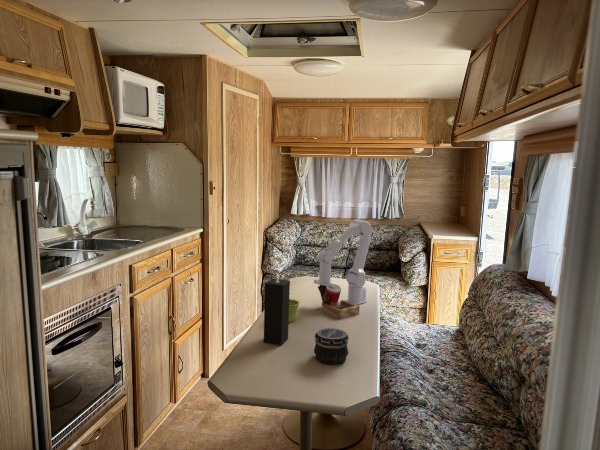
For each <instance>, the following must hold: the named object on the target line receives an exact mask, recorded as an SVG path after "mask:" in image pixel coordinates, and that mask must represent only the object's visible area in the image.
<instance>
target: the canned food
mask: <svg viewBox="0 0 600 450" xmlns="http://www.w3.org/2000/svg"><path fill="white" fill-rule="evenodd" d="M333 284H334V285H336V288H335V289H332V287H329V286H328V285H329V284H327V286H326V289H325V293H324V297H323V300H321V301H322V302H321V307H322V308H324V305H325V304H327V305H330V306H333V307H335V308H338V307H337V306H338V303H339V300H340V296H341V292H342V287H341V286H340V285H337V284H336V283H333Z"/></svg>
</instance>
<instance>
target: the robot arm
mask: <svg viewBox="0 0 600 450" xmlns="http://www.w3.org/2000/svg"><path fill="white" fill-rule="evenodd" d="M353 235H358V237H359V242H358V246H357V250H356V255H355V259H354V262H353V266H352V267H351V268H350V269H349V271H348V273H347V274H346V276H345V279H346V282H347V284H348V289H347V291H348V292H347V299H344V301H347V302H349V303H352V304H355V305H361V304H365V303H367V302H368V301H367V289H366V286H365V284H366V272H365V271H364V268H365V263H366V259H367V256H368V253H369V248H370V245H371V241H372V240H371V239H372V225H371V224H370V222H369V221H367V220H363V219H358V218H355V219H353V220H352V221H351V222H349V224H348V226H347V228H346V229H345V230H344V232H343V233H341V235H340V236H339V237H338V238H337V239H333V240H331V241H330V244H328V245H327V247H325V248H324V249H323V250H321V251H320V252H319V253H318V255H317V259H318V260H319V272H318V273H319V274H318V275H319V276H318V277H319V278H314V279H313V284H317V285H319V286H317V289H318V291H319V294H320V298H321V301H323V297H324V293H325V289H326V286H327V284H329V285H328V286H329V287H332V289H335V288H336V285H337V284H336V285H334V284H335V283H332V282H331V277H332V276H331V275H332V274H331V273H332V271H331V270H332V262H333V261H334V259H335V256H336V255H337V254H338V252H340V250H341V249H342V248H343V244H345V242H346V241H348V239H350V238H351V237H352V236H353Z"/></svg>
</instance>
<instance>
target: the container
mask: <svg viewBox="0 0 600 450" xmlns="http://www.w3.org/2000/svg"><path fill="white" fill-rule="evenodd" d="M314 342H315V345H314V348H313V353H314V354H315V359H316V361H318V362H320V363H321V364H324V365H328V366H337V365H341V364H344V363H345V362H346V360H347V356H348V355H349V349H348V343H349V335H348V333H347V332H346V331H345V330H343V329H340V328H333V327H326V328H324V327H323V328H321V329H318V330H317V331H316V333H315V334H314Z"/></svg>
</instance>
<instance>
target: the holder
mask: <svg viewBox="0 0 600 450" xmlns="http://www.w3.org/2000/svg"><path fill="white" fill-rule="evenodd" d="M344 300H345V299H344ZM344 300H343V299H342V300H340V308H338V307H336V308H335V307H333V306H330V305H327V304H325V305H324V307H323V313H324V314H327V315H329V316H332V317H333V318H336V319H339V320H343V319H346V318H350V317H353V316H356V315H359V314H360V306H359V304H357V305H355V304H352V303H349V302H347V301H344Z"/></svg>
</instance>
